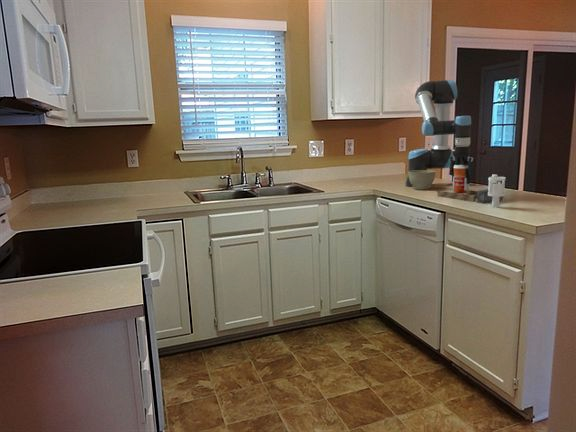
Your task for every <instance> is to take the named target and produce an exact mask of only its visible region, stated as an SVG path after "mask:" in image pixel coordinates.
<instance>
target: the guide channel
mask: <svg viewBox="0 0 576 432" xmlns="http://www.w3.org/2000/svg"><path fill="white" fill-rule="evenodd" d="M437 197H441V198H448V199H453V200H458V201H459V200H460V201H466V202H472V203H475V202H476V203H478V204H483V205H484V204H489V203H492V196H488V188H486V189H479V190H475V189H474V190H472V189H469V190H467V193H462V194H460V193H455V190H454V189H453V191H452V192H451V191H446V190H437ZM503 200H504V196H500V198H499V202H500V201H503Z"/></svg>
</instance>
